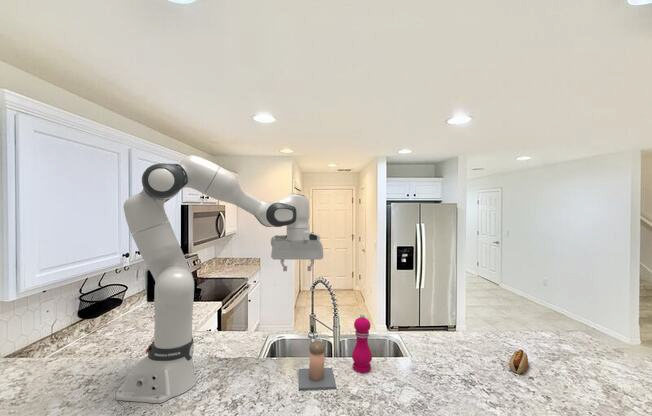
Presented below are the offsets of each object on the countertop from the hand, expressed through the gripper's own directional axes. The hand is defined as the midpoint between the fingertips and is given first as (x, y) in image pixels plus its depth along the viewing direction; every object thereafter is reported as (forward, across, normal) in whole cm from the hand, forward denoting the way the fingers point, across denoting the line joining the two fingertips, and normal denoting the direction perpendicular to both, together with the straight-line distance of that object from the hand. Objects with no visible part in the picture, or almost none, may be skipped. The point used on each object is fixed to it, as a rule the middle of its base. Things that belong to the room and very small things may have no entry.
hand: (297, 270), depth 117 cm
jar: (+33, +7, -15) cm, 37 cm away
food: (+34, +83, -12) cm, 91 cm away
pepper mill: (+34, +24, -9) cm, 43 cm away
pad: (+34, +7, -15) cm, 38 cm away
